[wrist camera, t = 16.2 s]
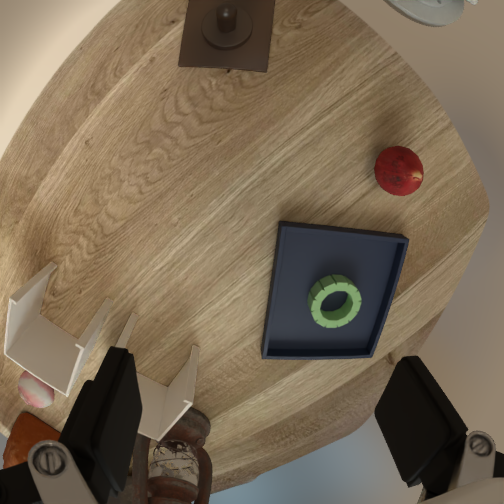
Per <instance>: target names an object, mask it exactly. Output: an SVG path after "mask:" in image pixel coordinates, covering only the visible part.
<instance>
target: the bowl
mask: <svg viewBox="0 0 504 504" xmlns="http://www.w3.org/2000/svg"><path fill="white" fill-rule="evenodd" d="M148 497H151V494H150V493H149V492H148ZM106 504H132V476H127V479H126V484H125V488H124V491H123V492H121V491H119V492H118V497H117V498H115V497H111V496H109V498H108V502H107V503H106Z"/></svg>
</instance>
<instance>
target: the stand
mask: <svg viewBox="0 0 504 504" xmlns="http://www.w3.org/2000/svg"><path fill="white" fill-rule="evenodd" d="M274 5H275V0H189V3H188V8H187V13H186V19H185V25H184V31H183V37H182V43H181V50H180V56H179V63H178V66H179V67H207V68H225V69H238V70H249V71H258V72H267V67H268V58H269V49H270V40H271V32H272V23H273V14H274Z"/></svg>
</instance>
